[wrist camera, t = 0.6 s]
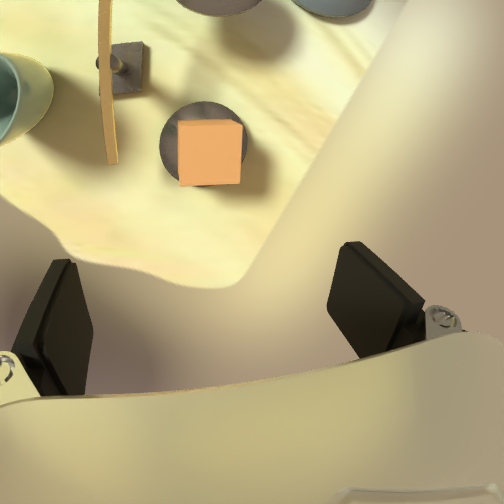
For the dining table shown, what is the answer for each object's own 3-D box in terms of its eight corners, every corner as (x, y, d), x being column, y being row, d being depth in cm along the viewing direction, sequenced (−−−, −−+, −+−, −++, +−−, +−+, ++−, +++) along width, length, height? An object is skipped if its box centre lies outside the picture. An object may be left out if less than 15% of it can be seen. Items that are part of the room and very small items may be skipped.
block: (177, 120, 27) (179, 126, 22) (230, 119, 28) (242, 125, 24) (177, 170, 29) (180, 186, 25) (228, 168, 30) (240, 183, 26)
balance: (111, -36, 17) (90, -86, 8) (254, -37, 21) (297, -82, 11) (107, 189, 29) (82, 239, 20) (241, 180, 33) (276, 224, 23)
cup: (77, 82, 23) (40, 82, 15) (34, 145, 25) (-12, 172, 16) (29, 44, 19) (-20, 35, 11) (-12, 108, 20) (-66, 123, 12)
